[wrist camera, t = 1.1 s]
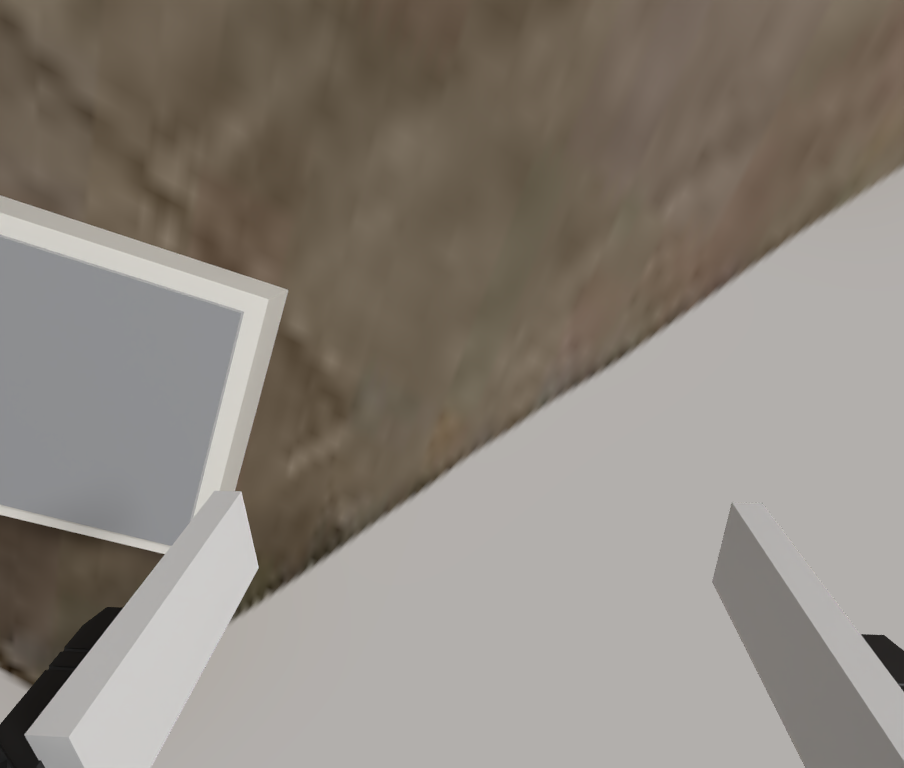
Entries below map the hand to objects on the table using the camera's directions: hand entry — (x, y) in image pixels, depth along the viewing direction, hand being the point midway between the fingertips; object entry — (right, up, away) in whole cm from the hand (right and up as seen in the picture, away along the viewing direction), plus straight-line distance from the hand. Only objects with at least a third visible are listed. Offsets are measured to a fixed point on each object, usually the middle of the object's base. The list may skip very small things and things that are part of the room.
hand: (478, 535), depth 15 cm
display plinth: (-21, +5, +17) cm, 27 cm away
